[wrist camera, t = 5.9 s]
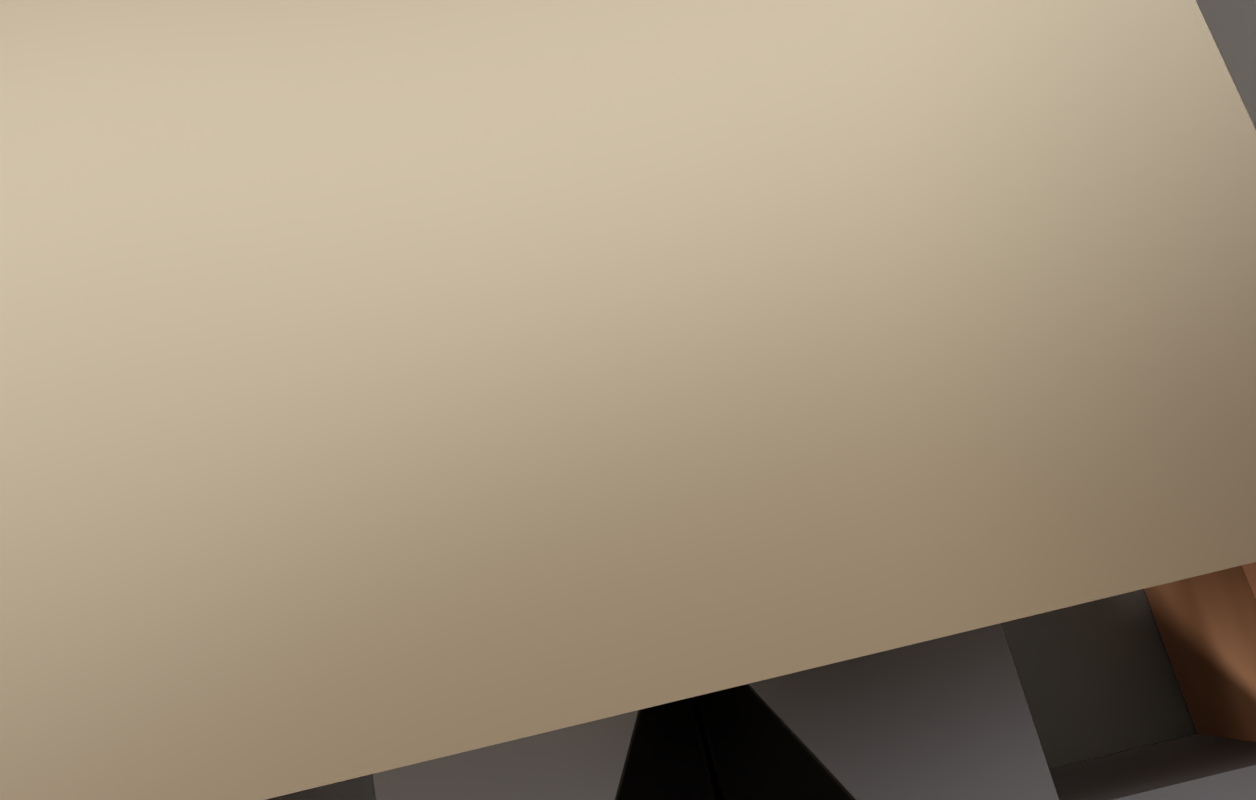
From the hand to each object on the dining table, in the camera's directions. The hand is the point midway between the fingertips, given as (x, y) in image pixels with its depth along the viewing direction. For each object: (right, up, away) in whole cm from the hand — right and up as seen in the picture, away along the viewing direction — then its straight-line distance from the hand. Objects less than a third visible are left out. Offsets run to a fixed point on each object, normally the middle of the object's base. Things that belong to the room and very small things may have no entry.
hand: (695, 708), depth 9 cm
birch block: (-1, +3, +6) cm, 7 cm away
